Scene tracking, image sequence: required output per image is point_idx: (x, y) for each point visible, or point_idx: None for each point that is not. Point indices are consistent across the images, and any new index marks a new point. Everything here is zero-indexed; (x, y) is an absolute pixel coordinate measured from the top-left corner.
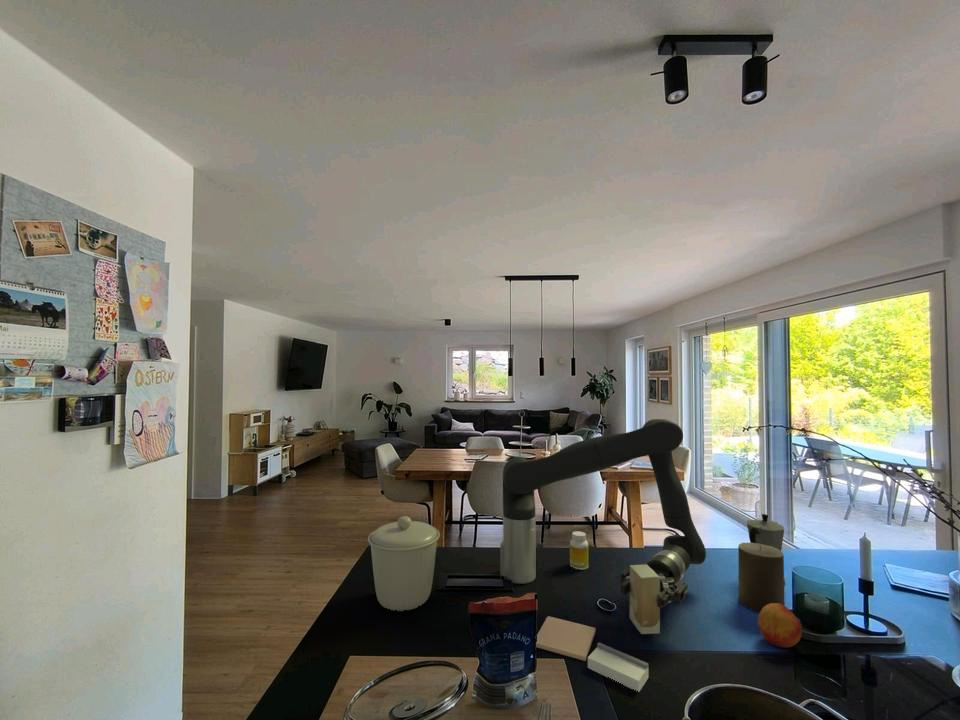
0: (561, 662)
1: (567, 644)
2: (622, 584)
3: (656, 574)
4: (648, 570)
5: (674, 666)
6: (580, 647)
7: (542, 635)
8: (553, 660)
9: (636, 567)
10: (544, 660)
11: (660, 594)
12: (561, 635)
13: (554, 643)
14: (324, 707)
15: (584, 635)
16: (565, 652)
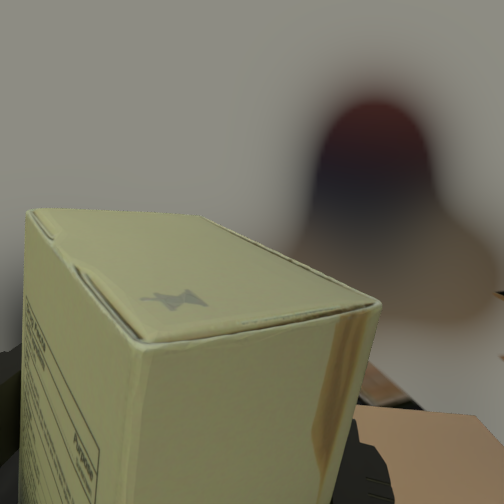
0: (367, 395)
1: (401, 434)
2: (374, 467)
3: (48, 223)
4: (134, 244)
5: (11, 475)
6: (360, 432)
7: (491, 449)
8: (387, 396)
9: (285, 275)
10: (402, 391)
11: (16, 368)
12: (454, 469)
13: (431, 426)
14: (500, 294)
15: (396, 499)
16: (380, 409)
